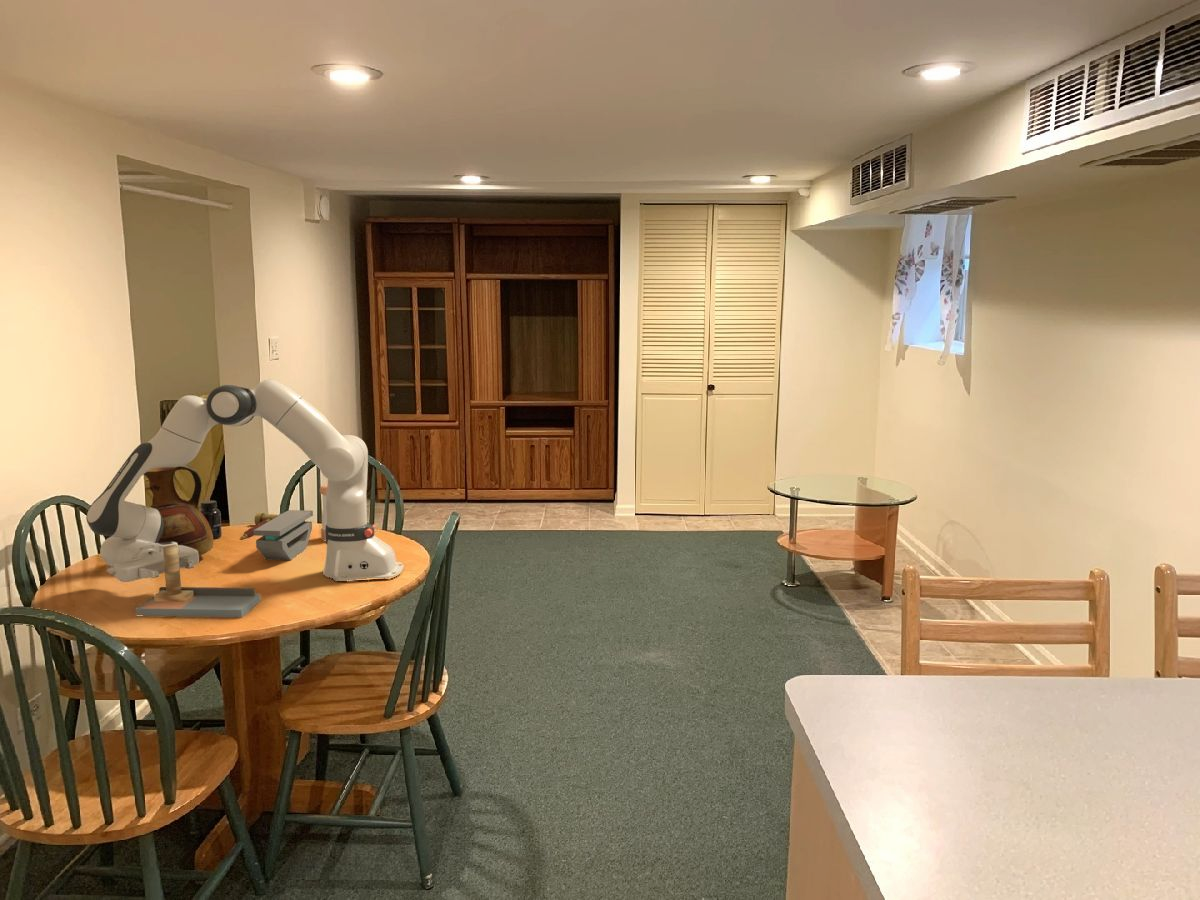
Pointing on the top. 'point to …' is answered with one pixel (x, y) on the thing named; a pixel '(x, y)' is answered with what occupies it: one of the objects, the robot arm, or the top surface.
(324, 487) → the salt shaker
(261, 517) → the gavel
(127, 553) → the robot arm
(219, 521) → the supplement bottle
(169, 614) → the board
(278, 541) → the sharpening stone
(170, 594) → the beige post stand
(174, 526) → the ceramic pitcher
